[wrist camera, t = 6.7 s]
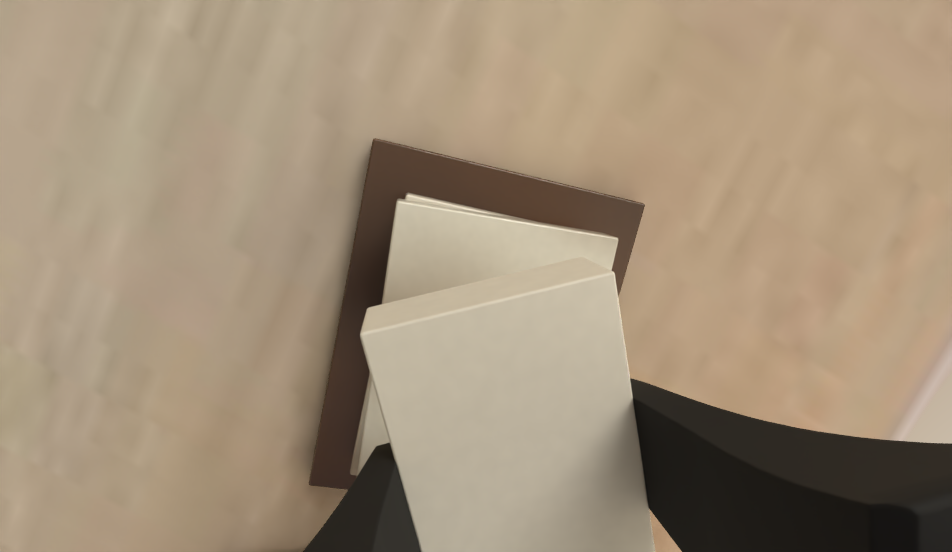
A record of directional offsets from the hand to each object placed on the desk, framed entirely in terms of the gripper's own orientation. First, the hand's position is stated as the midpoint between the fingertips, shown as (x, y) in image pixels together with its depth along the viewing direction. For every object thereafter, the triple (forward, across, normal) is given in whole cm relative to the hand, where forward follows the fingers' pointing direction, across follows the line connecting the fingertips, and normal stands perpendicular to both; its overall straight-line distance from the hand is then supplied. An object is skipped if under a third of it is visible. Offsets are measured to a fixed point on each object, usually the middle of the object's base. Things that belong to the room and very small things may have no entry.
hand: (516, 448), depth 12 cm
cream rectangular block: (0, 0, 0) cm, 0 cm away
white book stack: (+8, 0, 0) cm, 8 cm away
